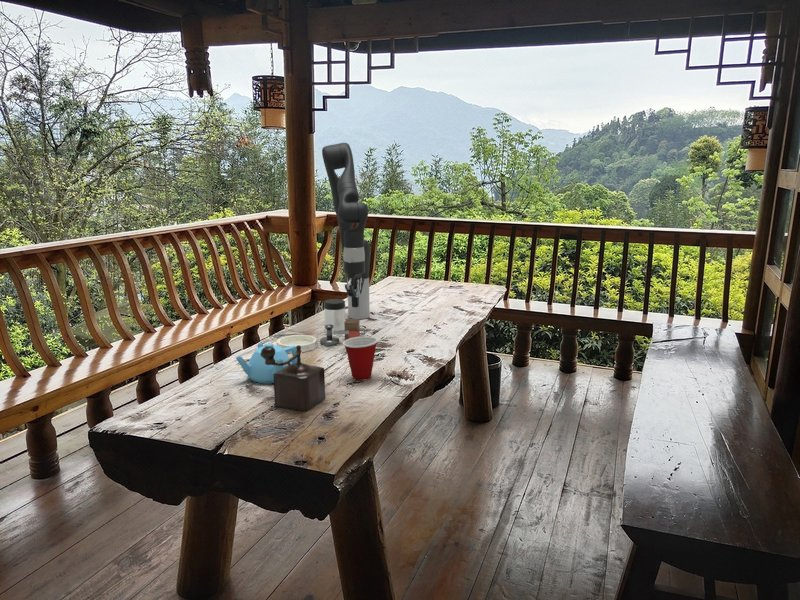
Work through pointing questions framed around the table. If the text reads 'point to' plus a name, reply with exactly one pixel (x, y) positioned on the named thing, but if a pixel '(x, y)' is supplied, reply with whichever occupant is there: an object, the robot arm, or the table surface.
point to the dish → (298, 342)
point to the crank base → (329, 337)
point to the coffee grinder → (296, 382)
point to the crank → (351, 333)
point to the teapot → (258, 367)
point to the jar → (335, 313)
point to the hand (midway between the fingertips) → (355, 306)
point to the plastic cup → (361, 356)
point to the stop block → (351, 326)
